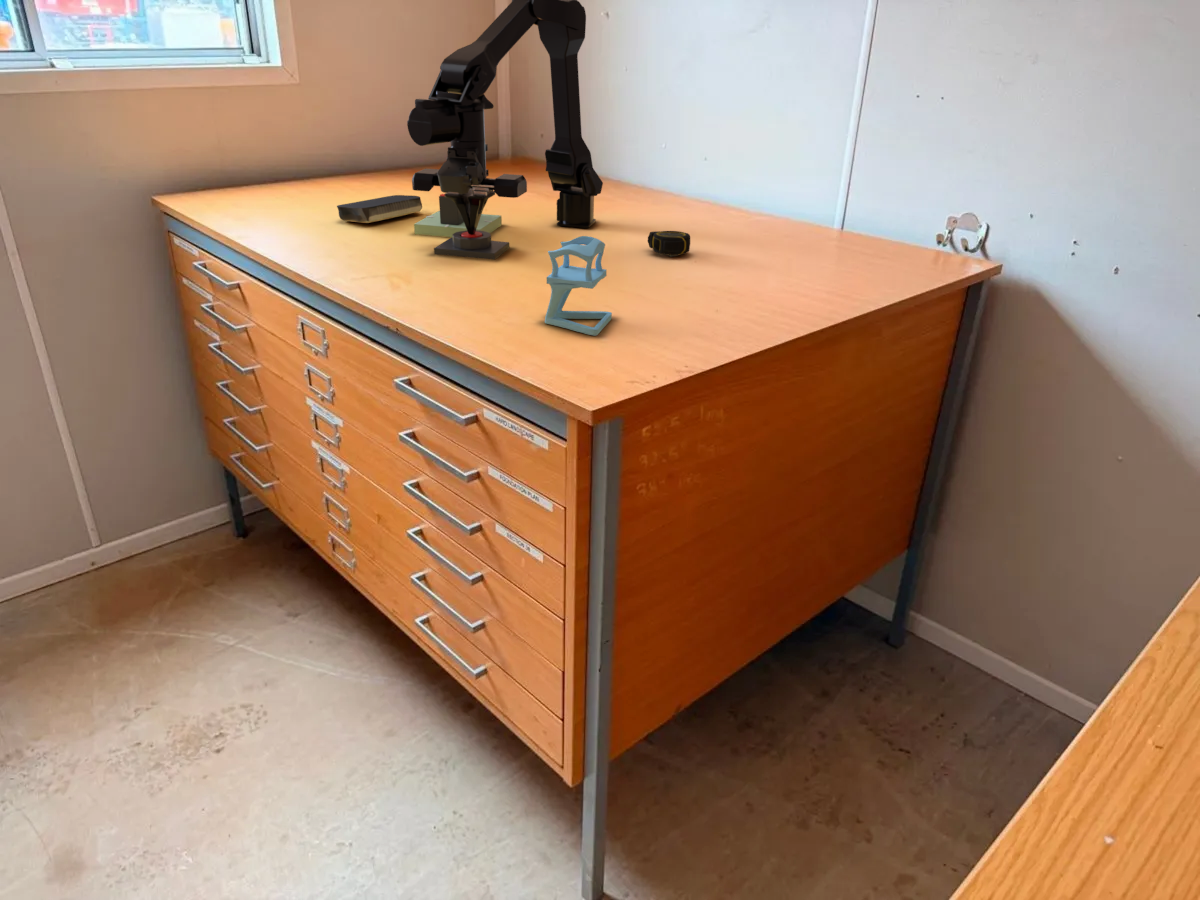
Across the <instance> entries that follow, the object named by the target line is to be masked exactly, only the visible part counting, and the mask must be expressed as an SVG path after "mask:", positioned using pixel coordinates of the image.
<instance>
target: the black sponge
mask: <svg viewBox="0 0 1200 900" xmlns="http://www.w3.org/2000/svg"><path fill="white" fill-rule="evenodd" d="M336 208H337V209H338V210H337V212H338V217H339V219H340V220H341V221H346V222H351V223H352V222H355V223H362V224H369V223H374V222H379V221H384V220H389V219H393V218H398V217H403V216H406V215H407V216H408V215H410V214H415V213H419V212H421V211H422V209H423V203H422V200H421V197H420V196H417V195H405V194H393V195H387V196H383V197H376V198H370V199H366V200H365V199H364V200H361V201H355V202H348V203H343V204H338V205H336Z"/></svg>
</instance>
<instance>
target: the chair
mask: <svg viewBox="0 0 1200 900" xmlns="http://www.w3.org/2000/svg"><path fill="white" fill-rule="evenodd" d="M560 245H561V247H560V248H558V249H555V250H548V251H547V253H548V256H549V258H550V259H549V260H550V262H551V267H552V269H551V273H550V274H548V275H547V276H546V284H547V285H549V286H550V289H551V293H550V297H549V302H548V306H547V310H546V313H545V317H544V323H545V324H546V325H547V324H548V325H551V326H555V327H560V328H564V329H567V330H571V331H574V332H577V333H581V334H585V335H589V336H593V337H594V336H598V335H599V334H600V333H601V332H602V331H603V329H604V328H605V327H606V326H607V325H608V324H609V323H610V321H612V317H613V316H612V315H613V312H610V311H602V310H600V311H599V310H563V308H564V306H565V304H566V302H567V300H568V299H569V296H570V294H571V292H572V290H574V289H579V288H583V289H592V290H593V289H594V288H595V287H596V286H597V285H598V283H599V282H601V280H603V279H605V277H607V269H605V268H603V265H602V259H603V255H604V251H605V247H606V243H605V242H604V241H602V240H600V239H599V238H596V237H593V236H589V235H582V236H581V235H580V236H578V237H575V238H572V239H571V240H567V241H560ZM570 256H574V257H577V258H579V259H581V260H583V261H585V262H586V266H585V267H581V266H574V265H570ZM559 257H563V263H562V264H561V265H560V266H559V263H558V262H557V260H556V259H557V258H559ZM595 257H596V258H595ZM594 259H595V263H594V265H595V268H592V267H593V261H594ZM589 319H590V320H599V321H598V322H597V323H596V324H595V326H590V325H586V324H582V323H579V322H576V321H572V320H589Z"/></svg>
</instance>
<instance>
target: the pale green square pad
mask: <svg viewBox="0 0 1200 900" xmlns="http://www.w3.org/2000/svg"><path fill="white" fill-rule="evenodd" d="M502 221H503V218H502V215H500V214H489V213H482V214H481V217H480V220H479V223H478V226H477V229H476V230H477V231H485V232H488V233H490V234H492V233H493V232H494V231H495V230H498V229H499V228H500V227H501V226H503V223H502ZM413 227H414V228H413V229H414V235H421V236H430V237H432V236H433V237H445V238H451V237H453V236H452V234H454V233H456V232H460V231H467V229H466V226H465V224H464V222H463V223H461V224H459V225H451V224H441V223H440V210H438V211H436V212H433V213H432V214H429V215H426V216H425V217H424V218H423V219H421V220H418V221H417V222H415V223H413Z"/></svg>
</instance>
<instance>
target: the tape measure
mask: <svg viewBox="0 0 1200 900" xmlns="http://www.w3.org/2000/svg"><path fill="white" fill-rule="evenodd" d="M647 244H648V247H649V248H650V249H652V250H653V252H654V253H657V254H660V255H666V256H668V257H679V256H680V255H685V254H687V253H689V251H690V249H691V235H690V234H689V233H688V232H684V231H680V230H679V231H678V230H660V231H656V230H655V231H650V232H649V233H648V236H647Z"/></svg>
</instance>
